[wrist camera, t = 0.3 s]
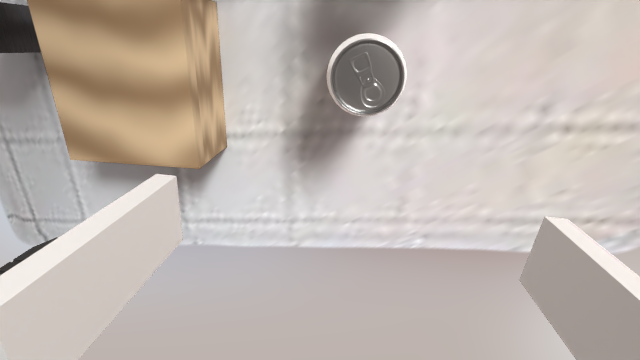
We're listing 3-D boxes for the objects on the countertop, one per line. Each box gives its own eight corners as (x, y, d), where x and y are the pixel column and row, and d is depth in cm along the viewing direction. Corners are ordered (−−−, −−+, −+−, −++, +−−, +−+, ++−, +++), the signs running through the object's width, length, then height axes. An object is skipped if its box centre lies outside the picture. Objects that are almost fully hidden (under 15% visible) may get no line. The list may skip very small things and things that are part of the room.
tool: (12, 7, 36) (-103, -7, 27) (188, 13, 35) (129, 2, 26) (24, 50, 38) (-80, 51, 29) (192, 58, 37) (139, 61, 27)
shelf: (91, -3, 35) (22, -16, 28) (216, 1, 34) (179, -11, 27) (120, 139, 41) (70, 159, 34) (226, 146, 40) (199, 168, 33)
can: (346, 107, 37) (344, 133, 26) (323, 52, 35) (310, 55, 24) (400, 84, 36) (422, 101, 25) (379, 25, 34) (393, 15, 23)
